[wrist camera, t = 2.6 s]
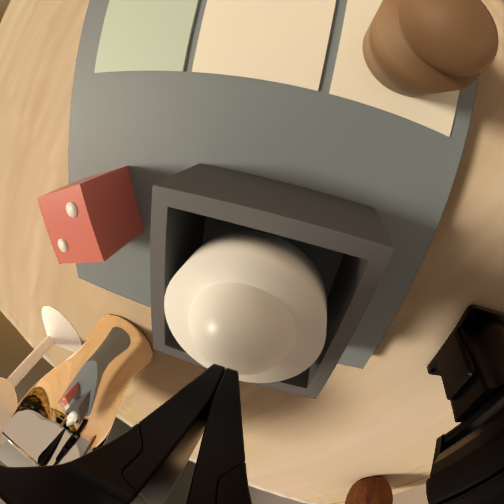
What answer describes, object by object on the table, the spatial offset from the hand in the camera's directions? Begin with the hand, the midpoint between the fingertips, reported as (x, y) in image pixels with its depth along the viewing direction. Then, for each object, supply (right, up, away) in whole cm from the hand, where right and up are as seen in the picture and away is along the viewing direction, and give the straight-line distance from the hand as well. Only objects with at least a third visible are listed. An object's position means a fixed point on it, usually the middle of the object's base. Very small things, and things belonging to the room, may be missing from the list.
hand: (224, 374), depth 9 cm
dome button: (+1, +2, +4) cm, 5 cm away
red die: (-8, +7, +7) cm, 13 cm away
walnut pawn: (+8, +13, 0) cm, 15 cm away
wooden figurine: (+18, -28, +20) cm, 39 cm away
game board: (0, +9, +6) cm, 11 cm away
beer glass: (-11, -4, +16) cm, 20 cm away
